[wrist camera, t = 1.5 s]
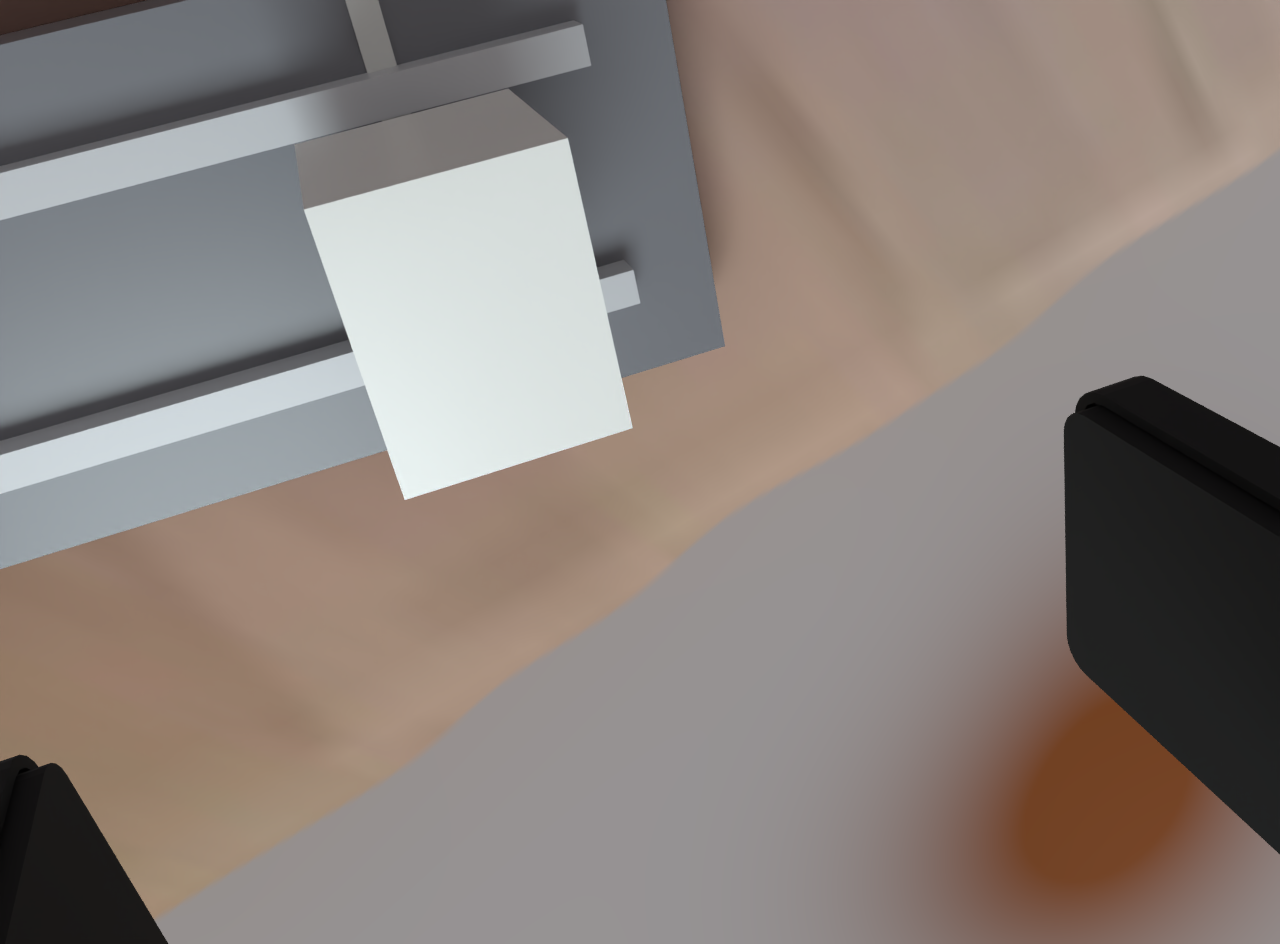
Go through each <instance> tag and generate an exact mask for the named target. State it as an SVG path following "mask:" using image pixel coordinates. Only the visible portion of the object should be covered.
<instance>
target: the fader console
mask: <svg viewBox="0 0 1280 944" xmlns="http://www.w3.org/2000/svg"><path fill="white" fill-rule="evenodd" d="M504 89H509V90H511V91H512V92H513V93H514V94H515V95H517V96H518V97H519V98H520V99H521V100H523V101H524V102H525V103H526V104H527V105H529V106H530V107H531V108H532V109H533V110H535V111H536V112H537V113H538V114H539V115H541V116H542V117H543V118H544V119H546V120H547V121H548V122H549V123H550V124H552V125H553V126H554V127H555V128H556V129H558V130H559V131H560V132H561V133H562V134H564V135H565V136H566V137H567V138H568V141H569V145H570V150H571V154H572V159H573V163H574V168H575V172H576V177H577V181H578V186H579V190H580V195H581V199H582V204H583V208H584V212H585V217H586V221H587V226H588V230H589V235H590V239H591V244H592V248H593V253H594V257H595V262H596V266H597V271H598V275H599V280H600V284H601V289H602V293H603V298H604V302H605V307H606V311H607V316H608V320H609V325H610V329H611V333H612V338H613V342H614V347H615V351H616V356H617V360H618V365H619V369H620V374H621V378H623V377H626V376H629V375H633V374H636V373H639V372H642V371H646V370H649V369H652V368H655V367H659V366H662V365H665V364H668V363H672V362H675V361H678V360H681V359H685V358H688V357H691V356H694V355H698V354H701V353H704V352H707V351H711V350H714V349H717V348H720V347H724V346H725V344H724V338H723V332H722V326H721V320H720V314H719V309H718V303H717V297H716V291H715V285H714V279H713V273H712V268H711V262H710V256H709V250H708V244H707V238H706V232H705V226H704V221H703V215H702V209H701V203H700V197H699V191H698V185H697V180H696V174H695V168H694V162H693V156H692V150H691V144H690V139H689V133H688V127H687V121H686V115H685V109H684V103H683V97H682V92H681V86H680V80H679V74H678V68H677V62H676V56H675V51H674V45H673V39H672V33H671V27H670V21H669V15H668V10H667V4H666V0H146V1H142V2H138V3H134V4H130V5H125V6H121V7H117V8H113V9H109V10H104V11H100V12H96V13H92V14H87V15H83V16H79V17H75V18H71V19H66V20H62V21H58V22H54V23H50V24H45V25H41V26H37V27H33V28H28V29H24V30H20V31H16V32H12V33H7V34H3V35H0V569H2V568H5V567H9V566H12V565H15V564H18V563H22V562H25V561H28V560H31V559H35V558H38V557H41V556H44V555H48V554H51V553H54V552H57V551H61V550H64V549H67V548H70V547H74V546H77V545H80V544H83V543H87V542H90V541H93V540H96V539H100V538H103V537H106V536H109V535H113V534H116V533H119V532H122V531H126V530H129V529H132V528H135V527H139V526H142V525H145V524H148V523H152V522H155V521H158V520H161V519H165V518H168V517H171V516H174V515H178V514H181V513H184V512H187V511H191V510H194V509H197V508H200V507H204V506H207V505H210V504H213V503H217V502H220V501H223V500H226V499H230V498H233V497H236V496H239V495H243V494H246V493H249V492H252V491H256V490H259V489H262V488H265V487H269V486H272V485H275V484H278V483H282V482H285V481H288V480H291V479H295V478H298V477H301V476H304V475H308V474H311V473H314V472H317V471H321V470H324V469H327V468H330V467H334V466H337V465H340V464H343V463H347V462H350V461H353V460H356V459H360V458H363V457H366V456H369V455H373V454H376V453H379V452H382V451H386V450H387V447H386V444H385V442H384V439H383V436H382V433H381V430H380V427H379V424H378V421H377V419H376V416H375V413H374V410H373V407H372V404H371V401H370V398H369V396H368V393H367V390H366V387H365V384H364V381H363V378H362V376H361V373H360V370H359V367H358V364H357V361H356V358H355V355H354V353H353V350H352V347H351V344H350V341H349V338H348V335H347V332H346V330H345V327H344V324H343V321H342V318H341V315H340V312H339V309H338V307H337V304H336V301H335V298H334V295H333V292H332V289H331V287H330V284H329V281H328V278H327V275H326V272H325V269H324V266H323V264H322V261H321V258H320V255H319V252H318V249H317V246H316V243H315V241H314V238H313V235H312V232H311V229H310V226H309V223H308V220H307V218H306V215H305V212H304V208H303V201H302V194H301V187H300V180H299V173H298V166H297V159H296V153H295V146H294V144H298V143H302V142H306V141H310V140H313V139H317V138H321V137H325V136H329V135H333V134H336V133H340V132H344V131H348V130H352V129H355V128H359V127H363V126H367V125H371V124H375V123H378V122H382V121H386V120H390V119H394V118H397V117H401V116H405V115H409V114H413V113H417V112H420V111H424V110H428V109H432V108H436V107H440V106H443V105H447V104H451V103H455V102H459V101H462V100H466V99H470V98H474V97H478V96H482V95H485V94H489V93H493V92H497V91H501V90H504Z"/></svg>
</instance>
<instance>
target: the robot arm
mask: <svg viewBox="0 0 1280 944" xmlns="http://www.w3.org/2000/svg"><path fill="white" fill-rule="evenodd" d="M1064 469H1065V470H1064V471H1065V534H1066V535H1065V538H1066V539H1065V540H1066V602H1067V603H1066V608H1067V639H1068V644H1069V647H1070V651H1071V653H1072V655H1073V657H1074V659H1075V661H1076V663H1077V664H1078V666H1079V667H1080V669H1081V670H1082V671H1083V672H1084V673H1085V674H1086V675H1087V676H1088V677H1089V678H1090V679H1091V680H1092V681H1093V682H1095V683H1096V684H1097V685H1098V686H1099V687H1100V688H1101V689H1102V690H1103V691H1104V692H1105V693H1106V694H1107V695H1109V696H1110V697H1111V698H1112V699H1113V700H1114V701H1115V702H1116V703H1117V704H1118V705H1119V706H1120V707H1122V708H1123V709H1124V710H1125V711H1126V712H1127V713H1128V714H1129V715H1130V716H1131V717H1132V718H1133V719H1134V720H1136V721H1137V722H1138V723H1139V724H1140V725H1141V726H1142V727H1143V728H1144V729H1145V730H1146V731H1147V732H1149V733H1150V734H1151V735H1152V736H1153V737H1154V738H1155V739H1156V740H1157V741H1158V742H1159V743H1160V744H1161V745H1162V746H1164V747H1165V748H1166V749H1167V750H1168V751H1169V752H1170V753H1171V754H1172V755H1173V756H1174V757H1176V759H1178V760H1179V761H1180V762H1181V763H1182V764H1183V765H1184V766H1185V767H1186V768H1187V769H1188V770H1189V771H1191V772H1192V773H1193V774H1194V775H1195V776H1196V777H1197V778H1198V779H1199V780H1200V781H1201V782H1202V783H1204V784H1205V785H1206V786H1207V787H1208V788H1209V789H1210V790H1211V791H1212V792H1213V793H1214V794H1215V795H1216V796H1218V797H1219V798H1220V799H1221V800H1222V801H1223V802H1224V803H1225V804H1226V805H1227V806H1228V807H1229V808H1231V809H1232V810H1233V811H1234V812H1235V813H1236V814H1237V815H1238V816H1239V817H1240V818H1241V819H1242V820H1243V821H1244V822H1246V823H1247V824H1248V825H1249V826H1250V827H1251V828H1252V829H1253V830H1254V831H1255V832H1256V833H1258V834H1259V835H1260V836H1261V837H1262V838H1263V839H1264V840H1265V841H1266V842H1267V843H1268V844H1269V845H1270V846H1271V847H1273V848H1274V849H1275V850H1276V851H1277V852H1278V853H1279V854H1280V447H1279V446H1277V445H1275V444H1273V443H1271V442H1269V441H1267V440H1266V439H1264V438H1262V437H1260V436H1258V435H1256V434H1254V433H1253V432H1251V431H1249V430H1247V429H1245V428H1243V427H1241V426H1239V425H1238V424H1236V423H1234V422H1232V421H1230V420H1228V419H1226V418H1224V417H1223V416H1221V415H1219V414H1217V413H1215V412H1213V411H1211V410H1209V409H1207V408H1206V407H1204V406H1202V405H1200V404H1198V403H1196V402H1194V401H1192V400H1191V399H1189V398H1187V397H1185V396H1183V395H1181V394H1179V393H1178V392H1176V391H1174V390H1172V389H1170V388H1168V387H1166V386H1164V385H1163V384H1161V383H1159V382H1157V381H1155V380H1153V379H1151V378H1148V377H1145V376H1138V377H1132V378H1130V379H1127V380H1124V381H1121V382H1118V383H1115V384H1112V385H1109V386H1106V387H1103V388H1100V389H1097V390H1094V391H1091V392H1088V393H1086V394H1084V395H1083V396H1082V397H1081V398H1080V399H1079V401H1078V403H1077V405H1076V410H1075V413H1073V414H1071V415H1070V416H1069V417H1068V418H1067V420H1066V422H1065V426H1064ZM0 944H168V942H167V941H166V939H165V938H164V936H163V935H162V933H161V931H160V929H159V928H158V926H157V924H156V922H155V921H154V919H153V917H152V916H151V914H150V912H149V911H148V909H147V907H146V906H145V904H144V902H143V901H142V899H141V898H140V896H139V894H138V893H137V891H136V889H135V888H134V886H133V884H132V883H131V881H130V879H129V878H128V876H127V874H126V873H125V871H124V869H123V868H122V866H121V864H120V863H119V861H118V859H117V858H116V856H115V854H114V853H113V851H112V849H111V848H110V846H109V844H108V843H107V841H106V839H105V838H104V836H103V834H102V833H101V831H100V829H99V828H98V826H97V824H96V823H95V821H94V819H93V818H92V816H91V814H90V813H89V811H88V809H87V808H86V806H85V804H84V803H83V801H82V799H81V798H80V796H79V794H78V793H77V791H76V789H75V788H74V786H73V784H72V783H71V781H70V779H69V778H68V776H67V775H66V773H65V772H64V771H63V769H62V768H61V767H60V766H58V765H57V764H55V763H49V764H47V765H44V766H41V767H38V766H37V765H36V763H35V762H34V761H33V760H31V759H30V758H29V757H27V756H23V755H18V756H15V757H12V758H9V759H6V760H3V761H0Z"/></svg>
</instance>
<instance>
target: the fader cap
mask: <svg viewBox="0 0 1280 944" xmlns="http://www.w3.org/2000/svg"><path fill="white" fill-rule="evenodd" d="M294 146H295V153H296V159H297V166H298V173H299V180H300V187H301V194H302V201H303V208H304V212H305V215H306V218H307V220H308V223H309V226H310V229H311V232H312V235H313V238H314V241H315V243H316V246H317V249H318V252H319V255H320V258H321V261H322V264H323V266H324V269H325V272H326V275H327V278H328V281H329V284H330V287H331V289H332V292H333V295H334V298H335V301H336V304H337V307H338V309H339V312H340V315H341V318H342V321H343V324H344V327H345V330H346V332H347V335H348V338H349V341H350V344H351V347H352V350H353V353H354V355H355V358H356V361H357V364H358V367H359V370H360V373H361V376H362V378H363V381H364V384H365V387H366V390H367V393H368V396H369V398H370V401H371V404H372V407H373V410H374V413H375V416H376V419H377V421H378V424H379V427H380V430H381V433H382V436H383V439H384V442H385V444H386V447H387V450H388V453H389V456H390V459H391V462H392V465H393V467H394V470H395V473H396V476H397V479H398V482H399V485H400V487H401V490H402V493H403V496H404V499H405V500H406V499H409V498H413V497H416V496H419V495H422V494H425V493H428V492H432V491H435V490H438V489H441V488H444V487H447V486H451V485H454V484H457V483H460V482H463V481H467V480H470V479H473V478H476V477H479V476H482V475H486V474H489V473H492V472H495V471H498V470H501V469H505V468H508V467H511V466H514V465H517V464H520V463H524V462H527V461H530V460H533V459H536V458H539V457H543V456H546V455H549V454H552V453H555V452H558V451H562V450H565V449H568V448H571V447H574V446H577V445H581V444H584V443H587V442H590V441H593V440H597V439H600V438H603V437H606V436H609V435H612V434H616V433H619V432H622V431H625V430H628V429H631V428H632V423H631V419H630V414H629V410H628V405H627V401H626V396H625V392H624V387H623V383H622V378H621V374H620V369H619V365H618V360H617V356H616V351H615V347H614V342H613V338H612V333H611V329H610V325H609V320H608V316H607V311H606V307H605V302H604V298H603V293H602V289H601V284H600V280H599V275H598V271H597V266H596V262H595V257H594V253H593V248H592V244H591V239H590V235H589V230H588V226H587V221H586V217H585V212H584V208H583V204H582V199H581V195H580V190H579V186H578V181H577V177H576V172H575V168H574V163H573V159H572V154H571V150H570V145H569V141H568V138H567V137H566V136H565V135H564V134H562V133H561V132H560V131H559V130H558V129H556V128H555V127H554V126H553V125H552V124H550V123H549V122H548V121H547V120H546V119H544V118H543V117H542V116H541V115H539V114H538V113H537V112H536V111H535V110H533V109H532V108H531V107H530V106H529V105H527V104H526V103H525V102H524V101H523V100H521V99H520V98H519V97H518V96H517V95H515V94H514V93H513V92H512V91H511V90H509V89H504V90H501V91H497V92H493V93H489V94H485V95H482V96H478V97H474V98H470V99H466V100H462V101H459V102H455V103H451V104H447V105H443V106H440V107H436V108H432V109H428V110H424V111H420V112H417V113H413V114H409V115H405V116H401V117H397V118H394V119H390V120H386V121H382V122H378V123H375V124H371V125H367V126H363V127H359V128H355V129H352V130H348V131H344V132H340V133H336V134H333V135H329V136H325V137H321V138H317V139H313V140H310V141H306V142H302V143H298V144H294Z"/></svg>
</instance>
